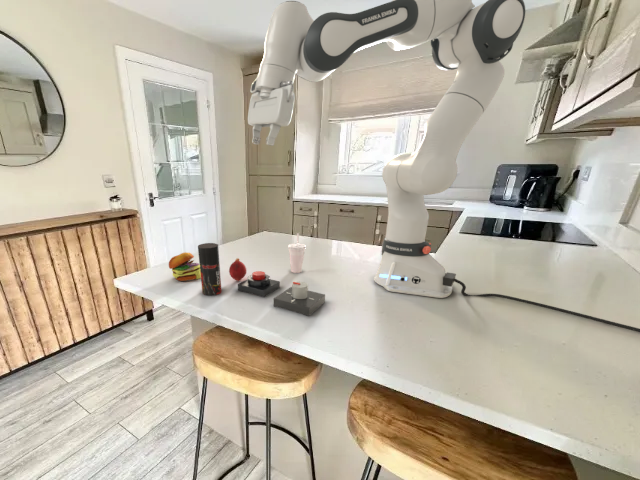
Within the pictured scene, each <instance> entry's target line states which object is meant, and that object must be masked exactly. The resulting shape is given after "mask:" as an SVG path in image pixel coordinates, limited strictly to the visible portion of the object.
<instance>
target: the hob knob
mask: <svg viewBox="0 0 640 480" xmlns="http://www.w3.org/2000/svg"><path fill="white" fill-rule="evenodd" d="M291 287H292V297H293V298H295V299H306V298H307V297H308V291H309V284H308V282H305V281H293V282H292V284H291Z"/></svg>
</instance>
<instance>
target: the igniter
mask: <svg viewBox="0 0 640 480" xmlns="http://www.w3.org/2000/svg"><path fill="white" fill-rule="evenodd" d="M280 288H281V281H279V280H276V279H271V276H270V275H268V274H266V273H265V279H263V280H254V279H252V274H250V275H248V276H247V278H246V279H244V280H243V281H240V282H239V283H237V291H238V292H242V293H243V292H244V293H246V294H249V295H254V296H257V297H261V298H266V297H267V296H269V295H271V294H273V292H274V293H275V291H277V290H278V289H280Z"/></svg>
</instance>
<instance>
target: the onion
mask: <svg viewBox="0 0 640 480" xmlns="http://www.w3.org/2000/svg"><path fill="white" fill-rule="evenodd" d="M228 272H229V276H230V277H231V278H232V279H233V280H235V281H236V282H241V280H242V279H244V278H245V276H246V274H247V267H246V265H245V264H244V263H243V262H242V261H241V260H240V258H239V257H237V258H236V259H235V260H234V261H233V262H232V263H231V264H230V266H229V269H228Z"/></svg>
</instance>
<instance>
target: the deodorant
mask: <svg viewBox="0 0 640 480" xmlns="http://www.w3.org/2000/svg"><path fill="white" fill-rule="evenodd" d="M197 253H198V262H199V265H200V273H201V277H200V282H201V283H200V284H201V292H202V295H203V296H207V297H215V296H218V295H221V294H222V279H221V266H220V251H219V244H218V243H214V242H205V243H201V244H200V243H199V244H198V245H197Z"/></svg>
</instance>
